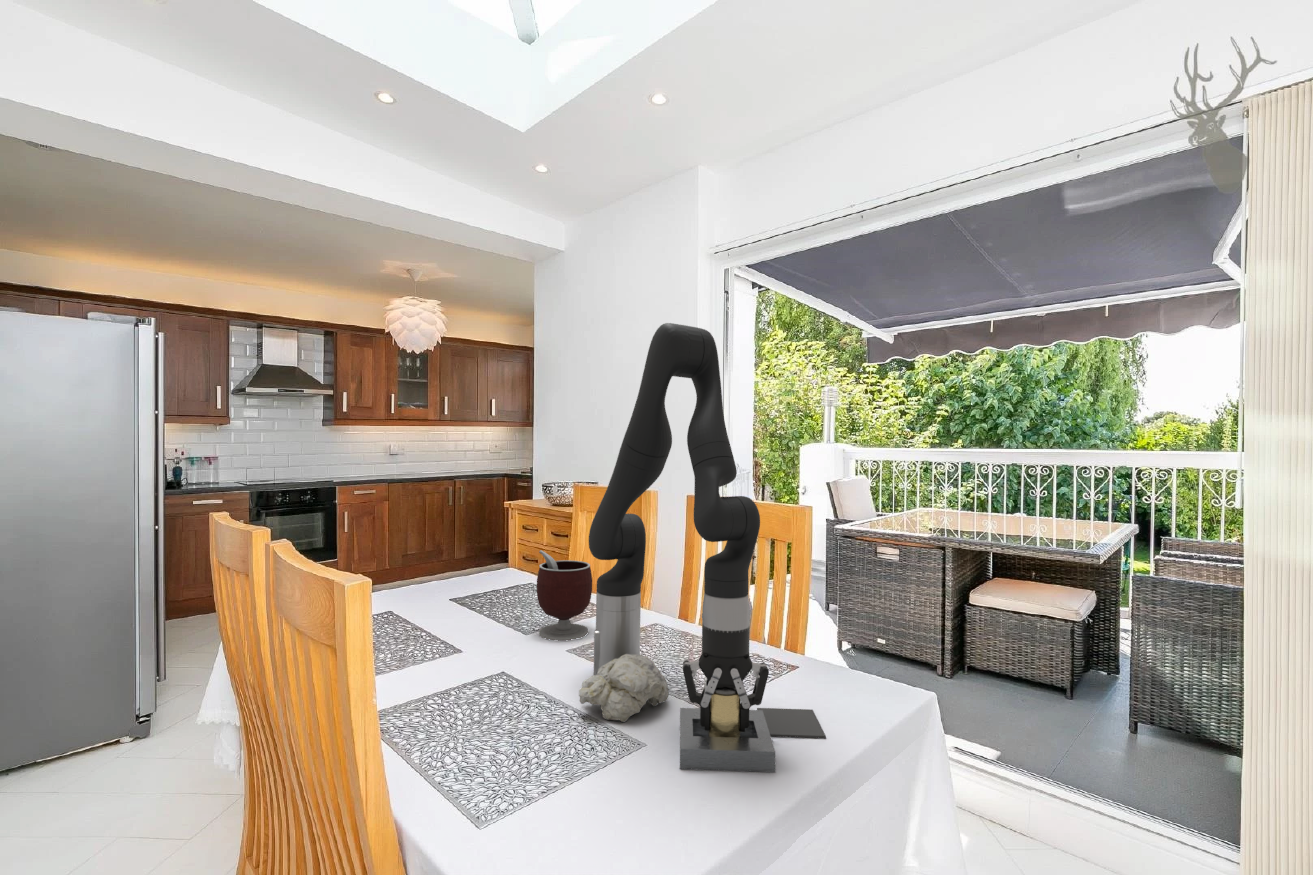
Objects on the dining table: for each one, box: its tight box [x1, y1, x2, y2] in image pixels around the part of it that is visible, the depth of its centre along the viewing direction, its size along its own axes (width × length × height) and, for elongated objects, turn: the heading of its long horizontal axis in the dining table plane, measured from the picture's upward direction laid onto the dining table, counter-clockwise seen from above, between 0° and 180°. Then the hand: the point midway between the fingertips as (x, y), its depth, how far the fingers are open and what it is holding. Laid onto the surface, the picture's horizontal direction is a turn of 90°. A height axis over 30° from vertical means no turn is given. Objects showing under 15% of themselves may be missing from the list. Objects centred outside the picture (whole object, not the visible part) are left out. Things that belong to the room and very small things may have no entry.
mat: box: [756, 707, 827, 739], centre depth 105 cm, size 10×10×1 cm
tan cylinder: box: [708, 687, 741, 738], centre depth 97 cm, size 5×5×10 cm
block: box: [679, 707, 776, 773], centre depth 97 cm, size 14×14×3 cm
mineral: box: [578, 654, 670, 723], centre depth 110 cm, size 12×17×10 cm
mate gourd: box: [536, 550, 593, 642], centre depth 154 cm, size 16×14×20 cm
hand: (724, 728), depth 97 cm, fingers closed on tan cylinder, 5 cm apart
